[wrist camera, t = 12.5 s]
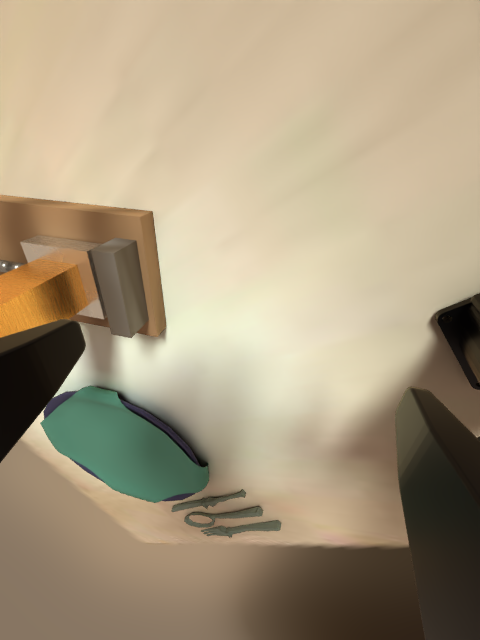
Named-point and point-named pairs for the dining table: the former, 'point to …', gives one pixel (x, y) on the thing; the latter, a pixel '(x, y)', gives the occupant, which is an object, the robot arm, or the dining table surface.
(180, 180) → the dining table surface
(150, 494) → the cutlery set
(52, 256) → the orange wooden beam
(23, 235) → the brown piece
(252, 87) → the dining table surface
